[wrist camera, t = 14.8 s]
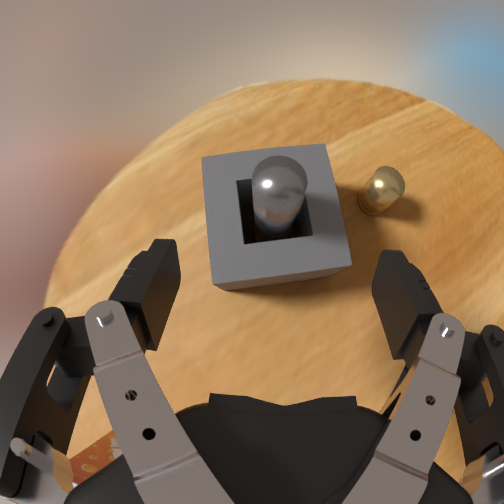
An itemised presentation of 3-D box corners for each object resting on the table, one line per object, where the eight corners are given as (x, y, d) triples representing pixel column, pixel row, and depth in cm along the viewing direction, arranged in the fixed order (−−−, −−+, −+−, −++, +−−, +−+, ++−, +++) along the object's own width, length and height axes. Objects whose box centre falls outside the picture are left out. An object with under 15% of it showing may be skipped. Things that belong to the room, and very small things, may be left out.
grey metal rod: (285, 215, 29) (301, 153, 17) (291, 247, 28) (312, 202, 16) (253, 219, 29) (248, 158, 17) (257, 251, 28) (255, 208, 16)
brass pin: (380, 186, 29) (399, 165, 24) (388, 214, 28) (409, 197, 23) (354, 188, 29) (369, 166, 24) (361, 217, 28) (379, 199, 23)
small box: (191, 439, 24) (149, 511, 12) (190, 485, 23) (155, 560, 10) (119, 422, 25) (48, 470, 12) (121, 467, 24) (63, 523, 11)
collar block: (311, 179, 29) (324, 143, 22) (330, 276, 27) (352, 265, 20) (214, 191, 29) (201, 157, 22) (224, 290, 27) (212, 284, 20)
